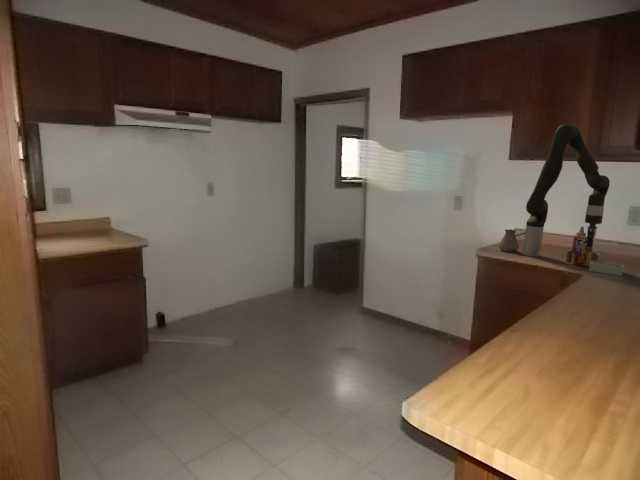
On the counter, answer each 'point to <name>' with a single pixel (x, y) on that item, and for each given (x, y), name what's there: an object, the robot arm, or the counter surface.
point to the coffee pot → (509, 241)
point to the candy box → (581, 251)
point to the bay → (594, 256)
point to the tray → (606, 267)
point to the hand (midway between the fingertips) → (589, 246)
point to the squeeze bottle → (580, 234)
